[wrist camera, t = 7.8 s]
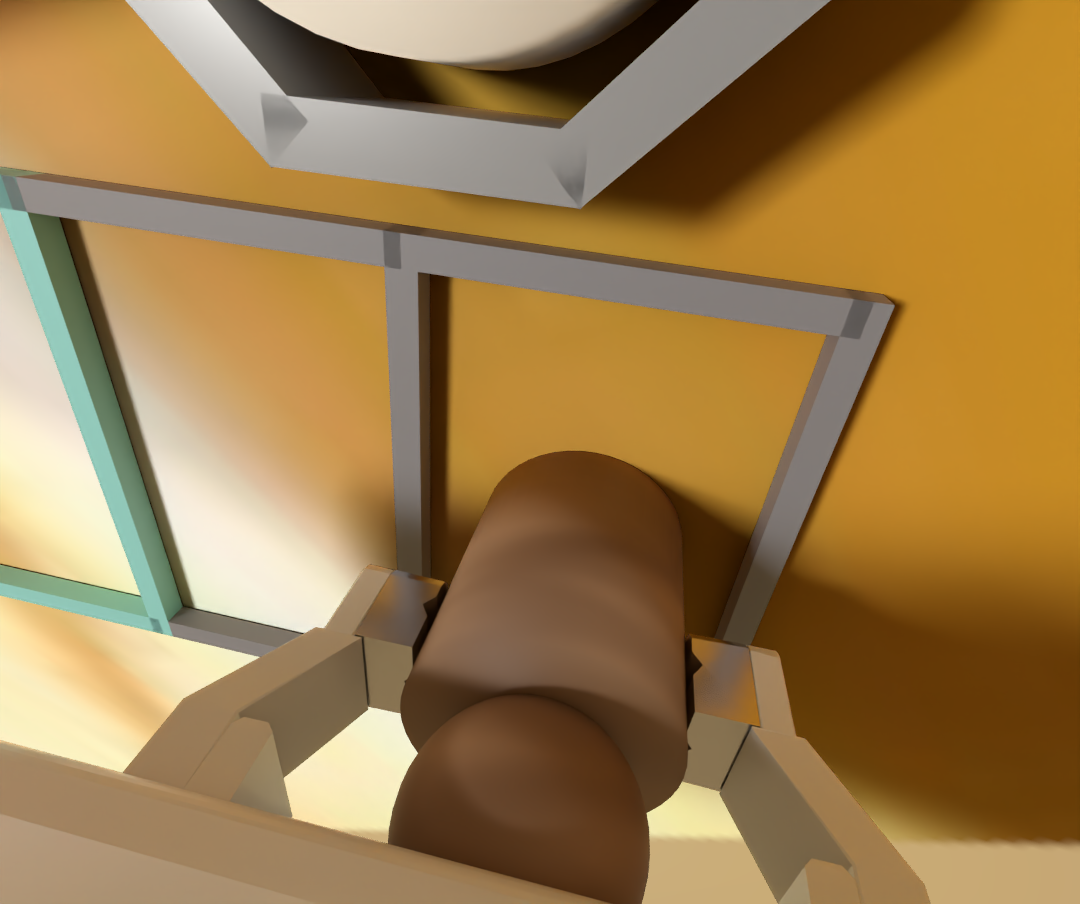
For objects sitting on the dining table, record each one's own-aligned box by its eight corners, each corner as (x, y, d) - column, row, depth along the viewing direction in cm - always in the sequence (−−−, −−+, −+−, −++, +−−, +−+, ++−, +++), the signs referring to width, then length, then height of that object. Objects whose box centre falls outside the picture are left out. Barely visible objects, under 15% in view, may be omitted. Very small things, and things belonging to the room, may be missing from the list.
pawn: (704, 473, 12) (750, 978, 5) (659, 625, 14) (649, 1111, 7) (490, 433, 12) (266, 846, 5) (481, 587, 14) (316, 1009, 8)
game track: (882, 294, 9) (894, 305, 9) (700, 740, 16) (701, 761, 15) (-310, 122, 12) (-354, 122, 11) (-51, 565, 18) (-72, 578, 18)
